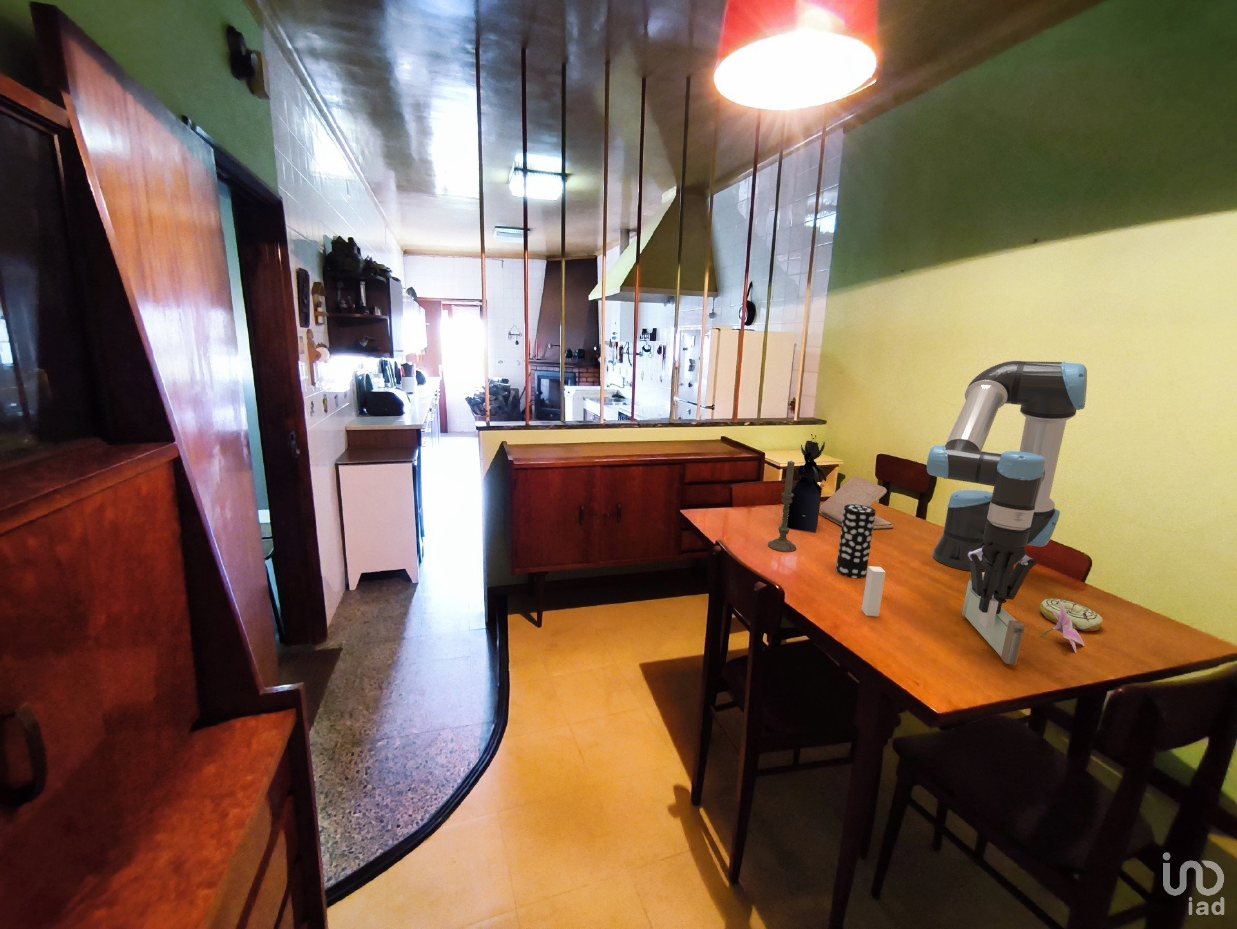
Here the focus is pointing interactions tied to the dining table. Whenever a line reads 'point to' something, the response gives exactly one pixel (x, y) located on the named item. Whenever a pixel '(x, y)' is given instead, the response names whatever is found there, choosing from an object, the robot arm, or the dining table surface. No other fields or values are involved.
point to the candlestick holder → (785, 515)
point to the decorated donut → (1072, 614)
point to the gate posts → (875, 591)
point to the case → (854, 500)
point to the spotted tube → (855, 540)
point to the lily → (1066, 627)
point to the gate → (996, 628)
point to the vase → (807, 491)
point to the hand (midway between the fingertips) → (985, 625)
